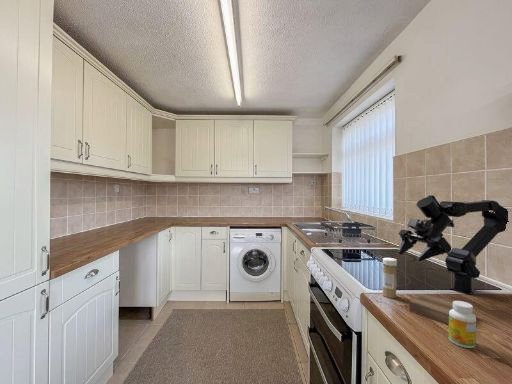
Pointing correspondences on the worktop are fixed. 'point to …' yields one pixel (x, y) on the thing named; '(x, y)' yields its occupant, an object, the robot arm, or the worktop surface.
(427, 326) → the worktop surface
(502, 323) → the worktop surface
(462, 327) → the supplement bottle
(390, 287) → the sprinkles bottle
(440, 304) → the walnut block
